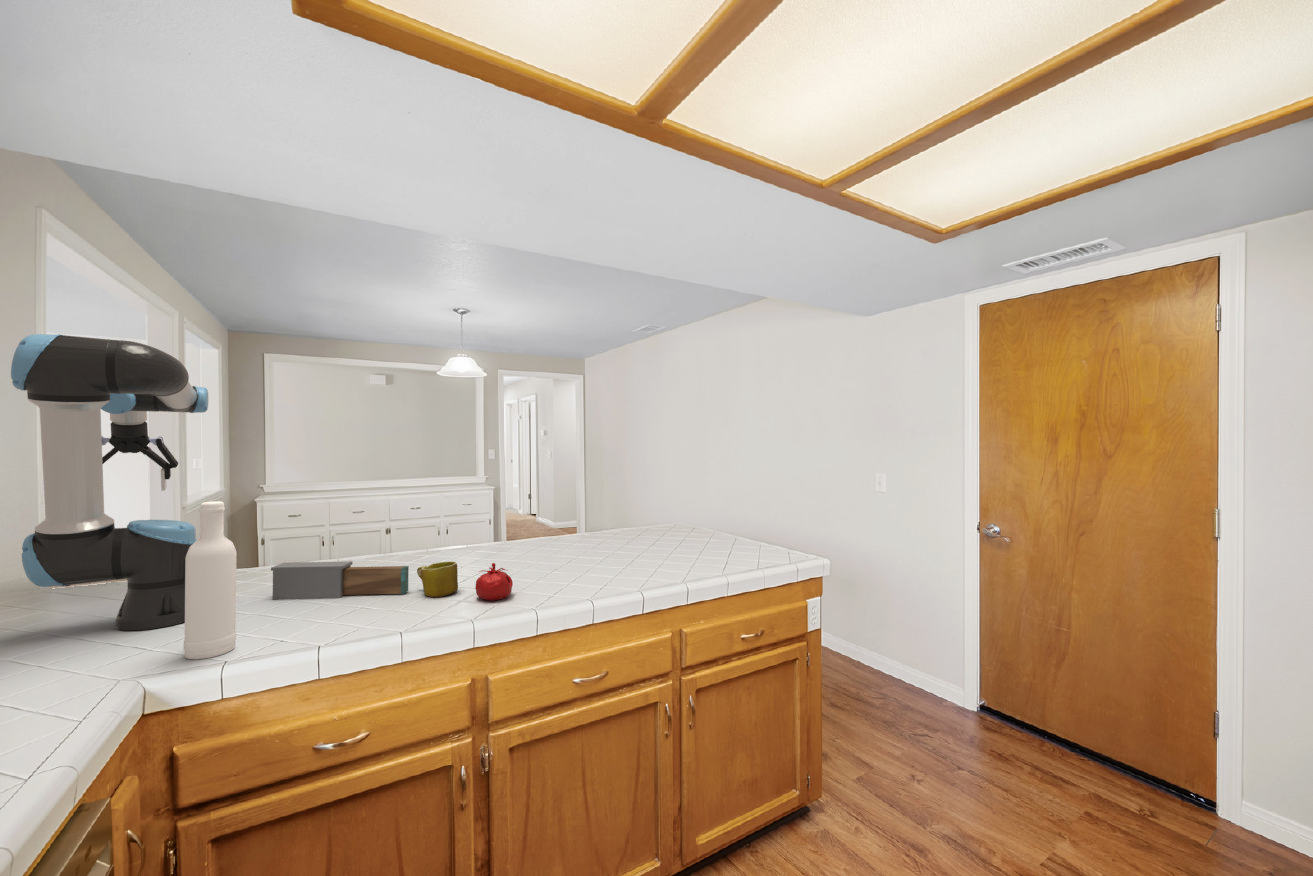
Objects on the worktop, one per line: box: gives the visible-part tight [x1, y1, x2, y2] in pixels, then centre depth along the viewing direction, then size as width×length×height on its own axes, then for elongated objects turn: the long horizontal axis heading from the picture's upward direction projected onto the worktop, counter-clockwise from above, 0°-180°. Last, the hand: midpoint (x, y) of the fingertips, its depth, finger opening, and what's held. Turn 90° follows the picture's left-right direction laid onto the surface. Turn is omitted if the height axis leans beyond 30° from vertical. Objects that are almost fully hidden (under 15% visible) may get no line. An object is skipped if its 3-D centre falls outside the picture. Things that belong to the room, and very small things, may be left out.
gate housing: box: [270, 561, 353, 601], centre depth 142 cm, size 6×18×8 cm, turn 96°
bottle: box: [183, 500, 238, 660], centre depth 104 cm, size 8×8×30 cm
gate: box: [342, 565, 410, 596], centre depth 144 cm, size 3×16×7 cm, turn 96°
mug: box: [416, 561, 459, 598], centre depth 145 cm, size 12×10×10 cm
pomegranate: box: [474, 562, 514, 601], centre depth 141 cm, size 10×10×9 cm
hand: (132, 490), depth 155 cm, fingers open, 13 cm apart
